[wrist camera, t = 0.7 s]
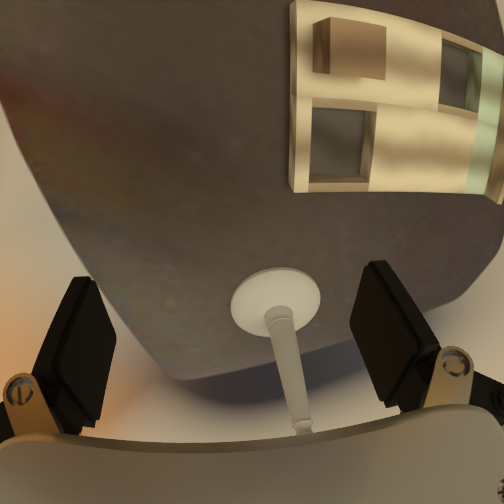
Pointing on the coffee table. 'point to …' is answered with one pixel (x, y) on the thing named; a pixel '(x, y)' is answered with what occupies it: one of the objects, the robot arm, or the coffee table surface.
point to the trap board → (396, 112)
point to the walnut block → (349, 48)
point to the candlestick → (280, 326)
